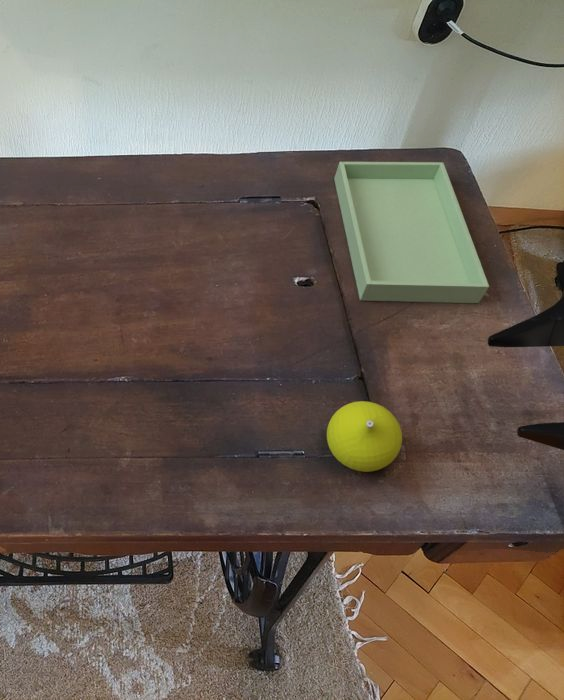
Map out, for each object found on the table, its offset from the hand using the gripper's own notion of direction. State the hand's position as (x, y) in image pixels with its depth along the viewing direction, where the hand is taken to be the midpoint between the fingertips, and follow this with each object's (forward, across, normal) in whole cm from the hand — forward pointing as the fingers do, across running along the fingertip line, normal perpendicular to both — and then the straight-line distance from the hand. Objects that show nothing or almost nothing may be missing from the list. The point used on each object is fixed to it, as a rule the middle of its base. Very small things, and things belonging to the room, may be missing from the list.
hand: (502, 384), depth 56 cm
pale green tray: (+2, -34, +15) cm, 37 cm away
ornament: (+12, -1, +12) cm, 17 cm away
